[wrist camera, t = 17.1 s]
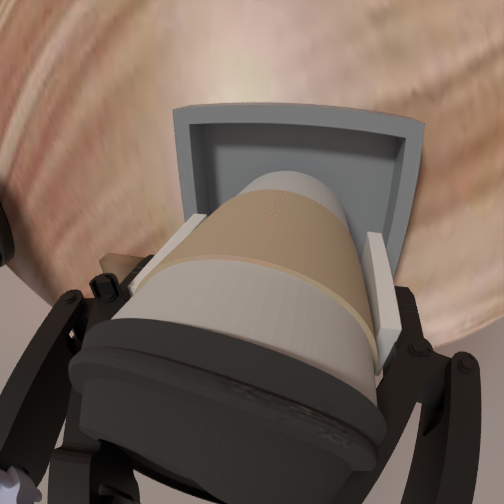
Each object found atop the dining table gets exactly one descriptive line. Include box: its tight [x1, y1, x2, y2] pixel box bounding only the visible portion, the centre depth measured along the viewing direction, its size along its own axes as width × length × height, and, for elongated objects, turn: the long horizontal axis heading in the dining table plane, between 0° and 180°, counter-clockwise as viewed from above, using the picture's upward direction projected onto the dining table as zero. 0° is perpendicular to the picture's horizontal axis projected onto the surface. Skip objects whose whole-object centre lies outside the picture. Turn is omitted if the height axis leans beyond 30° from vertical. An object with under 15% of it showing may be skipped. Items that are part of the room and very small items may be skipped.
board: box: [99, 253, 144, 284], centre depth 27 cm, size 8×7×2 cm
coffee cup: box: [68, 171, 387, 504], centre depth 11 cm, size 9×9×15 cm
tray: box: [173, 103, 425, 279], centre depth 18 cm, size 14×14×2 cm
